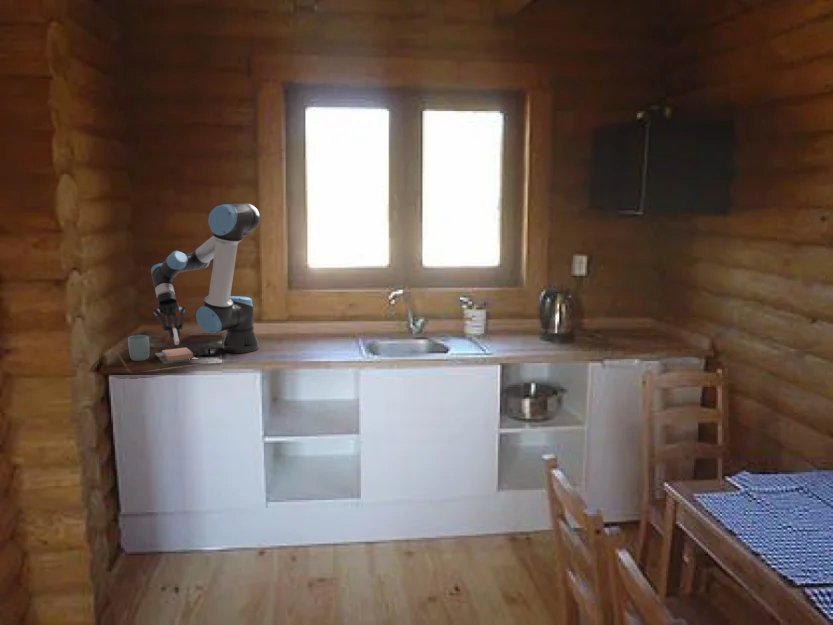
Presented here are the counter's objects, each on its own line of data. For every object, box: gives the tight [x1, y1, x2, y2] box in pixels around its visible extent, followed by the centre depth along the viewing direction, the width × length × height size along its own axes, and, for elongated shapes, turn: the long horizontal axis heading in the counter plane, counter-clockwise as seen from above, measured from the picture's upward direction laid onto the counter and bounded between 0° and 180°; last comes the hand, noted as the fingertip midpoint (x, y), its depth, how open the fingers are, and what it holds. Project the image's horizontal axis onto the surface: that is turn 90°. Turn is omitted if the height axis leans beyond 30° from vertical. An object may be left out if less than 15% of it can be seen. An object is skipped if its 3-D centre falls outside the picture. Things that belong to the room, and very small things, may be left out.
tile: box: [161, 347, 194, 361], centre depth 307 cm, size 2×10×11 cm
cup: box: [127, 334, 150, 362], centre depth 304 cm, size 8×8×10 cm
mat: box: [154, 352, 190, 365], centre depth 309 cm, size 18×14×1 cm
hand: (177, 343), depth 305 cm, fingers closed
